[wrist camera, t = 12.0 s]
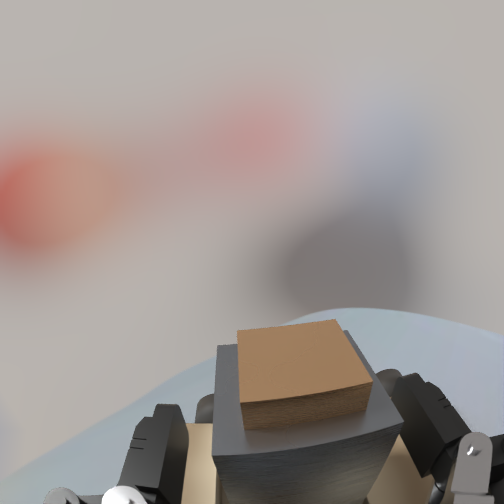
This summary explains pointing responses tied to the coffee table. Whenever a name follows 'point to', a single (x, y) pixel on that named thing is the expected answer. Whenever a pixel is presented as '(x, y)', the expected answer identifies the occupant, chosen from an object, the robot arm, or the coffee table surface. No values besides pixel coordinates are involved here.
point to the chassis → (378, 500)
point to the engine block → (299, 417)
